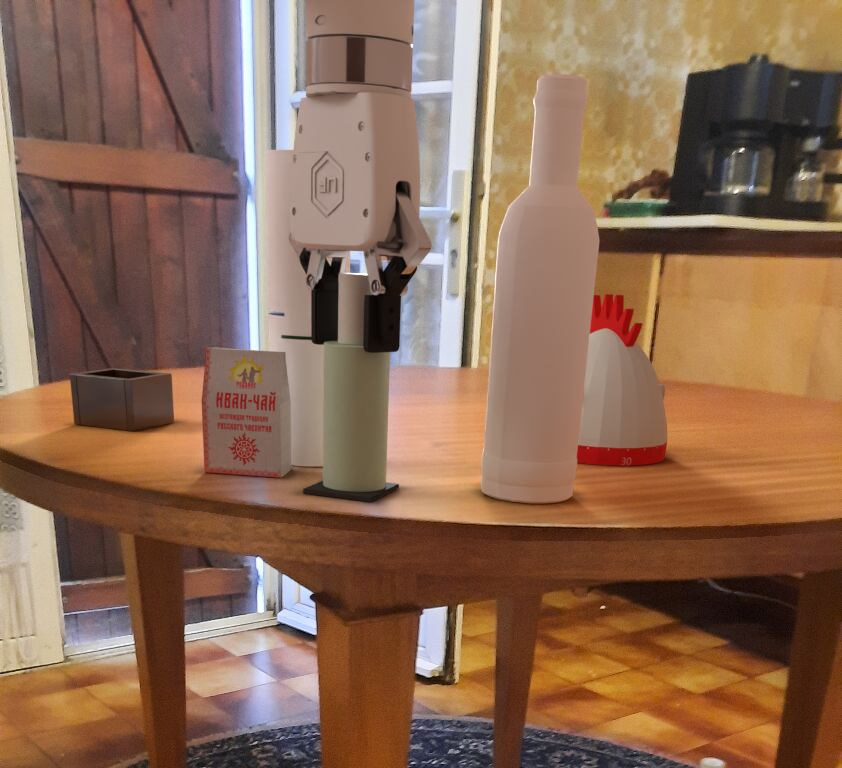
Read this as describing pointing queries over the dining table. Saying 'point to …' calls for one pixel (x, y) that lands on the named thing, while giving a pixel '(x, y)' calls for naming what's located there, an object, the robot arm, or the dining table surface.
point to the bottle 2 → (542, 312)
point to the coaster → (360, 496)
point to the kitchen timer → (620, 393)
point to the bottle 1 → (354, 398)
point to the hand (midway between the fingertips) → (354, 345)
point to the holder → (122, 399)
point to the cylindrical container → (293, 316)
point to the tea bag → (246, 413)
